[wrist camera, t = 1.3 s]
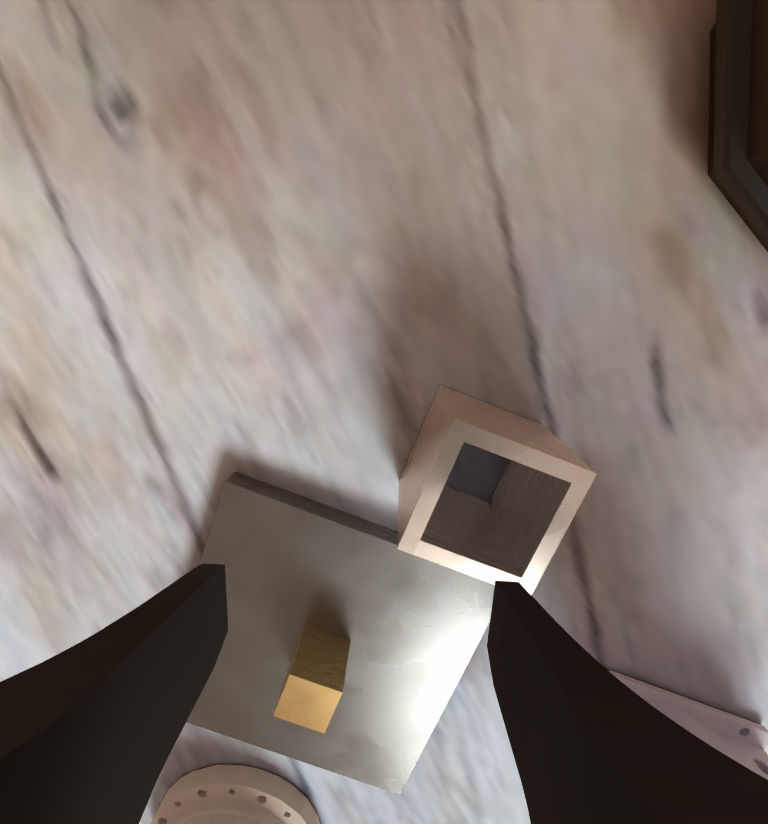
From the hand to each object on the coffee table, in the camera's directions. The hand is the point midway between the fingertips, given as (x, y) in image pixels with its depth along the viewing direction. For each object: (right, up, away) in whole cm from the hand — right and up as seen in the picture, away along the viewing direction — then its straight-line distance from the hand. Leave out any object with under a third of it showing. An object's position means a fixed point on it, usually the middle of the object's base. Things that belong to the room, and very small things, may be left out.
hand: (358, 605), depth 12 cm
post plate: (-2, -7, +12) cm, 14 cm away
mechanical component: (-8, -20, +16) cm, 27 cm away
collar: (+5, +3, +9) cm, 11 cm away
